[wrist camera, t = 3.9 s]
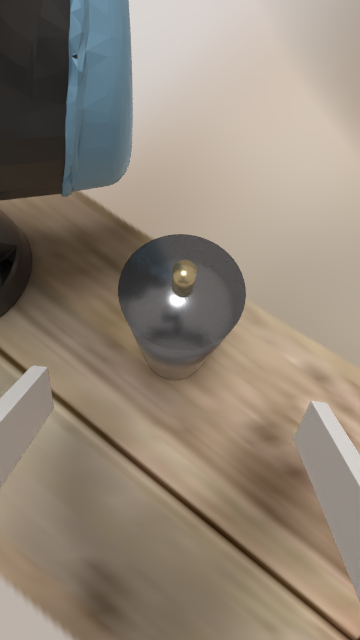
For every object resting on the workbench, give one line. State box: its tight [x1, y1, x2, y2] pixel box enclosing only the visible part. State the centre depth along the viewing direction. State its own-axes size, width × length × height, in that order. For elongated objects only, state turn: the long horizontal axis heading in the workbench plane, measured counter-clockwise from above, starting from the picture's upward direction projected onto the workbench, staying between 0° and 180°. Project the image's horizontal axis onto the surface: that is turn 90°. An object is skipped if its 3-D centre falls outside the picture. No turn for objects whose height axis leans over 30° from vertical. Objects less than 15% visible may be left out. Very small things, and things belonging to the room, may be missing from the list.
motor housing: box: [118, 234, 246, 380], centre depth 18 cm, size 6×6×16 cm
